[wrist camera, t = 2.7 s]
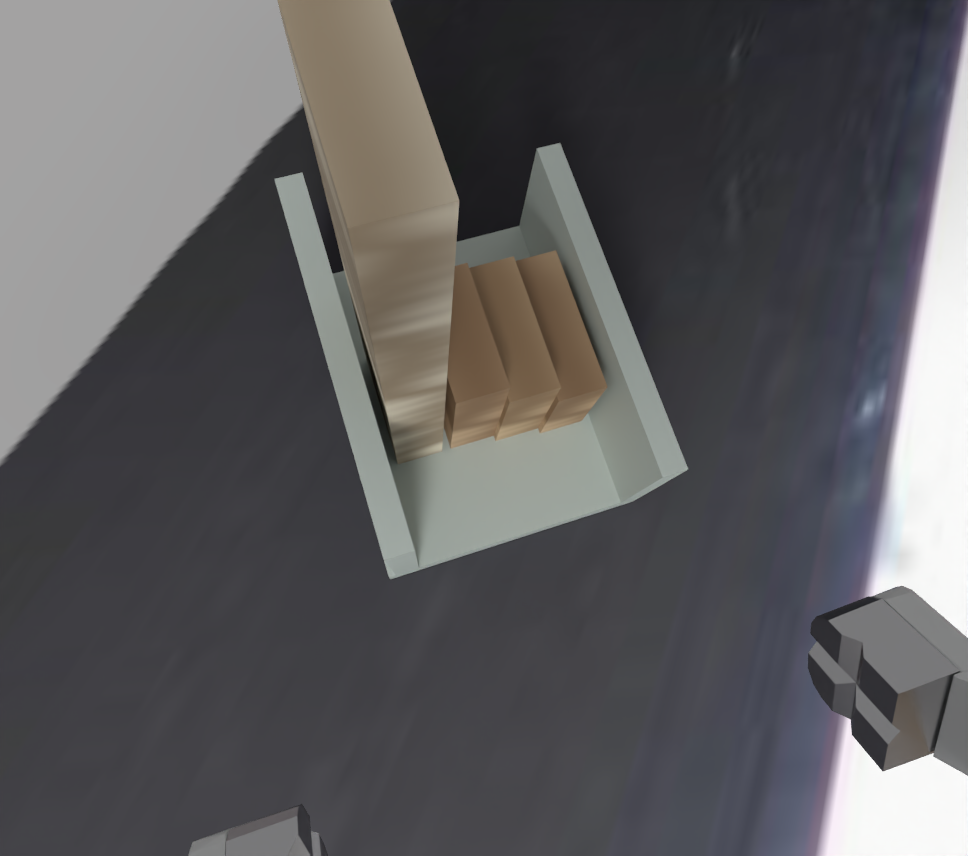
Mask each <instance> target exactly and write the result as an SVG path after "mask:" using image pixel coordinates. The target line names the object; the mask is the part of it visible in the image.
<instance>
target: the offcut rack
mask: <svg viewBox="0 0 968 856" xmlns="http://www.w3.org/2000/svg"><path fill="white" fill-rule="evenodd" d="M275 183H276V186H277V190H278V193H279V196H280V200H281V203H282V207H283V210H284V214H285V217H286V221H287V224H288V228H289V231H290V235H291V238H292V242H293V245H294V249H295V252H296V256H297V259H298V263H299V266H300V269H301V273H302V276H303V280H304V284H305V287H306V291H307V294H308V298H309V301H310V305H311V308H312V312H313V315H314V319H315V322H316V326H317V329H318V333H319V336H320V340H321V343H322V346H323V350H324V353H325V357H326V360H327V364H328V367H329V371H330V374H331V378H332V381H333V385H334V388H335V392H336V395H337V399H338V402H339V406H340V409H341V413H342V416H343V419H344V423H345V426H346V430H347V433H348V437H349V440H350V444H351V447H352V451H353V454H354V458H355V461H356V465H357V468H358V472H359V475H360V479H361V482H362V486H363V489H364V492H365V496H366V499H367V503H368V506H369V510H370V513H371V517H372V520H373V524H374V527H375V531H376V534H377V538H378V541H379V545H380V548H381V552H382V555H383V558H384V562H385V565H386V569H387V572H388V576H389V578H390V579H393V578H396V577H399V576H402V575H405V574H409V573H412V572H415V571H418V570H421V569H424V568H427V567H430V566H433V565H437V564H440V563H443V562H446V561H449V560H452V559H455V558H458V557H461V556H465V555H468V554H471V553H474V552H477V551H480V550H483V549H486V548H489V547H493V546H496V545H499V544H502V543H505V542H508V541H511V540H514V539H517V538H521V537H524V536H527V535H530V534H533V533H536V532H539V531H542V530H545V529H549V528H552V527H555V526H558V525H561V524H564V523H567V522H570V521H573V520H577V519H580V518H583V517H586V516H589V515H592V514H595V513H598V512H601V511H605V510H608V509H611V508H614V507H617V506H620V505H623V504H626V503H629V502H633V501H634V500H636V499H638V498H640V497H641V496H643V495H645V494H647V493H648V492H650V491H652V490H653V489H655V488H657V487H659V486H660V485H662V484H664V483H665V482H667V481H669V480H671V479H672V478H674V477H676V476H678V475H679V474H681V473H683V472H684V471H686V470H688V468H687V465H686V463H685V460H684V458H683V455H682V453H681V450H680V447H679V445H678V442H677V440H676V437H675V435H674V432H673V430H672V427H671V425H670V422H669V419H668V417H667V414H666V412H665V409H664V407H663V404H662V402H661V399H660V396H659V394H658V391H657V389H656V386H655V384H654V381H653V379H652V376H651V373H650V371H649V368H648V366H647V363H646V361H645V358H644V356H643V353H642V351H641V348H640V345H639V343H638V340H637V338H636V335H635V333H634V330H633V328H632V325H631V322H630V320H629V317H628V315H627V312H626V310H625V307H624V305H623V302H622V300H621V297H620V294H619V292H618V289H617V287H616V284H615V282H614V279H613V277H612V274H611V271H610V269H609V266H608V264H607V261H606V259H605V256H604V254H603V251H602V248H601V246H600V243H599V241H598V238H597V236H596V233H595V231H594V228H593V226H592V223H591V220H590V218H589V215H588V213H587V210H586V208H585V205H584V203H583V200H582V197H581V195H580V192H579V190H578V187H577V185H576V182H575V180H574V177H573V175H572V172H571V169H570V167H569V164H568V162H567V159H566V157H565V154H564V152H563V149H562V146H561V144H560V143H557V144H553V145H549V146H545V147H541V148H537V150H536V154H535V159H534V163H533V167H532V172H531V176H530V181H529V185H528V189H527V194H526V198H525V203H524V207H523V212H522V216H521V220H520V225H519V226H517V227H513V228H509V229H505V230H501V231H497V232H493V233H490V234H486V235H482V236H478V237H474V238H470V239H466V240H462V241H458V242H456V256H455V266H457V265H461V264H464V263H468V266H469V268H471V267H475V266H478V265H482V264H486V263H490V262H494V261H497V260H501V259H505V258H509V257H513V256H514V258H515V261H517V260H521V259H525V258H529V257H532V256H536V255H540V254H544V253H548V252H551V251H555V250H556V251H557V254H558V257H559V259H560V262H561V265H562V267H563V270H564V273H565V275H566V278H567V281H568V283H569V286H570V288H571V291H572V294H573V296H574V299H575V302H576V304H577V307H578V310H579V312H580V315H581V318H582V320H583V323H584V326H585V328H586V331H587V334H588V336H589V339H590V342H591V344H592V347H593V350H594V352H595V355H596V358H597V360H598V363H599V366H600V368H601V371H602V374H603V376H604V379H605V381H606V384H607V388H606V390H605V391H604V392H603V394H602V395H601V396H600V398H599V399H598V400H597V402H596V403H595V404H594V405H593V407H592V408H591V409H590V411H589V412H588V413H587V415H586V416H585V417H584V419H583V420H582V421H580V422H576V423H573V424H570V425H566V426H563V427H560V428H556V429H553V430H550V431H547V432H543V433H540V432H539V430H538V428H537V429H534V430H531V431H527V432H524V433H521V434H517V435H514V436H511V437H507V438H504V439H501V440H497V441H495V438H494V436H491V437H488V438H485V439H481V440H478V441H475V442H471V443H468V444H465V445H461V446H458V447H455V448H450V445H449V442H448V439H447V436H446V433H445V429H444V430H443V444H442V452H438V453H435V454H431V455H428V456H425V457H421V458H418V459H415V460H411V461H408V462H405V463H401V464H398V463H397V460H396V456H395V453H394V450H393V446H392V443H391V440H390V436H389V433H388V430H387V427H386V423H385V420H384V417H383V413H382V410H381V407H380V403H379V400H378V397H377V393H376V390H375V387H374V383H373V380H372V377H371V373H370V370H369V367H368V363H367V360H366V356H365V352H364V348H363V344H362V340H361V336H360V332H359V328H358V324H357V320H356V316H355V311H354V307H353V303H352V299H351V295H350V291H349V287H348V283H347V279H346V275H345V271H342V272H338V273H334V274H332V271H331V267H330V264H329V261H328V257H327V254H326V251H325V247H324V244H323V240H322V237H321V234H320V230H319V227H318V224H317V220H316V217H315V214H314V210H313V207H312V204H311V200H310V197H309V193H308V190H307V187H306V183H305V180H304V177H303V173H298V174H294V175H290V176H286V177H281V178H277V179H275Z"/></svg>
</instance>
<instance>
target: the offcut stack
mask: <svg viewBox="0 0 968 856" xmlns="http://www.w3.org/2000/svg"><path fill="white" fill-rule="evenodd" d="M606 388H607V384H606V381H605V379H604V376H603V374H602V371H601V368H600V366H599V363H598V360H597V358H596V355H595V352H594V350H593V347H592V344H591V342H590V339H589V336H588V334H587V331H586V328H585V326H584V323H583V320H582V318H581V315H580V312H579V310H578V307H577V304H576V302H575V299H574V296H573V294H572V291H571V288H570V286H569V283H568V281H567V278H566V275H565V273H564V270H563V267H562V265H561V262H560V259H559V257H558V254H557V251H556V250H555V251H551V252H548V253H544V254H540V255H536V256H532V257H529V258H525V259H521V260H517V261H515V258H514V256H513V257H509V258H505V259H501V260H497V261H494V262H490V263H486V264H482V265H478V266H475V267H471V268H469V266H468V263H464V264H461V265H457V266H455V270H454V285H453V299H452V314H451V328H450V343H449V357H448V372H447V386H446V401H445V415H444V429H445V433H446V436H447V439H448V442H449V445H450V448H455V447H458V446H461V445H465V444H468V443H471V442H475V441H478V440H481V439H485V438H488V437H491V436H494V438H495V441H497V440H501V439H504V438H507V437H511V436H514V435H517V434H521V433H524V432H527V431H531V430H534V429H537V428H538V430H539V432H540V433H543V432H547V431H550V430H553V429H556V428H560V427H563V426H566V425H570V424H573V423H576V422H580V421H582V420H583V419H584V417H585V416H586V415H587V413H588V412H589V411H590V409H591V408H592V407H593V405H594V404H595V403H596V402H597V400H598V399H599V398H600V396H601V395H602V394H603V392H604V391H605V390H606Z"/></svg>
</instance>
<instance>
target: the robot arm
mask: <svg viewBox="0 0 968 856" xmlns="http://www.w3.org/2000/svg"><path fill="white" fill-rule="evenodd" d="M810 634H811V635H812V636H813V637H814V638H815V639H816V641H817V642H816V643H815V645H814V646H813V647H812V649H811V650H810V652H809V653H808V669H809V672H810V675H811V678H812V681H813V684H814V686H815V688H816V689H817V691H818V693H819V694H820V696H821V698H822V699H823V700H824V701H825V703H826V704H827V705H828V706H829V707H830V709H831V710H832V711H834V712H836V713H838V714H840V715H843V716H845V717H847V718H849V719H851V728H852V735H853V736H854V738H855V739H856V740H857V741H858V742H859V744H860V745H861V746H862V747H863V748H864V750H865V751H866V752H867V753H868V754H869V755H870V757H871V758H872V759H873V760H874V761H875V763H876V764H877V765H878V766H879V767H880V769H881V770H882V771H885V770H888V769H891V768H894V767H896V766H899V765H902V764H905V763H907V762H910V761H913V760H915V759H918V758H921V757H924V756H926V755H929V754H932V753H934V755H933V756H934V757H935V758H937V759H939V760H941V761H943V762H944V763H946V764H948V765H950V766H952V767H953V768H955V769H957V770H959V771H961V772H962V773H964V774H966V775H968V638H967V637H966V636H965V635H963V634H962V633H961V632H960V631H959V630H958V629H957V628H955V627H954V626H953V625H952V624H951V623H950V622H948V621H947V620H946V619H945V618H944V617H943V616H941V615H940V614H939V613H938V612H937V611H936V610H935V609H933V608H932V607H931V606H930V605H929V604H928V603H926V602H925V601H924V600H923V599H922V598H921V597H919V596H918V595H917V594H916V593H915V592H914V591H912V590H911V589H909V588H906V587H904V586H900V587H895V588H893V589H890V590H887V591H885V592H882V593H880V594H877V595H875V596H872V597H866V598H864V599H861V600H858V601H856V602H853V603H851V604H848V605H845V606H843V607H840V608H837V609H835V610H832V611H830V612H827V613H824V614H822V615H819V616H817V617H816V618H815V619H814V620H813V621H812V623H811V632H810ZM188 856H328V854H327V851H326V848H325V845H324V843H323V841H322V839H321V837H320V835H319V834H318V833H315V832H312V831H311V826H310V816H309V814H308V813H307V811H306V809H305V808H304V806H303V804H300V805H298V806H295V807H292V808H289V809H286V810H283V811H280V812H277V813H274V814H272V815H269V816H266V817H263V818H260V819H257V820H254V821H251V822H249V823H246V824H243V825H240V826H237V827H234V828H230V829H227V830H224V831H222V832H219V833H216V834H213V835H211V836H208V837H205V838H202V839H200V840H197V841H194V842H193V843H192V846H191V849H190V852H189V855H188Z"/></svg>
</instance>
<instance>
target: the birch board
mask: <svg viewBox="0 0 968 856" xmlns="http://www.w3.org/2000/svg"><path fill="white" fill-rule="evenodd" d="M278 4H279V8H280V12H281V16H282V20H283V24H284V28H285V33H286V36H287V41H288V45H289V48H290V53H291V57H292V61H293V65H294V69H295V73H296V77H297V81H298V85H299V89H300V93H301V97H302V101H303V105H304V109H305V113H306V117H307V121H308V126H309V130H310V134H311V138H312V142H313V146H314V150H315V154H316V158H317V162H318V166H319V170H320V174H321V178H322V182H323V186H324V190H325V194H326V198H327V202H328V206H329V210H330V214H331V219H332V223H333V227H334V231H335V235H336V239H337V243H338V247H339V251H340V255H341V259H342V263H343V267H344V271H345V275H346V279H347V283H348V287H349V291H350V295H351V299H352V303H353V307H354V311H355V316H356V320H357V324H358V328H359V332H360V336H361V340H362V344H363V348H364V352H365V356H366V360H367V363H368V367H369V370H370V373H371V377H372V380H373V383H374V387H375V390H376V393H377V397H378V400H379V403H380V407H381V410H382V413H383V417H384V420H385V423H386V427H387V430H388V433H389V436H390V440H391V443H392V446H393V450H394V453H395V456H396V460H397V463H398V464H401V463H405V462H408V461H411V460H415V459H418V458H421V457H425V456H428V455H431V454H435V453H438V452H442V444H443V430H444V415H445V401H446V386H447V372H448V357H449V343H450V328H451V314H452V299H453V285H454V270H455V256H456V241H457V227H458V212H459V198H458V195H457V192H456V189H455V187H454V184H453V181H452V178H451V175H450V172H449V169H448V167H447V164H446V161H445V158H444V155H443V152H442V149H441V147H440V144H439V141H438V138H437V135H436V132H435V129H434V127H433V124H432V121H431V118H430V115H429V112H428V109H427V107H426V104H425V101H424V98H423V95H422V92H421V89H420V86H419V84H418V81H417V78H416V75H415V72H414V69H413V66H412V64H411V61H410V58H409V55H408V52H407V49H406V46H405V44H404V41H403V38H402V35H401V32H400V29H399V26H398V24H397V21H396V18H395V15H394V12H393V9H392V6H391V3H390V1H389V0H278Z"/></svg>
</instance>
